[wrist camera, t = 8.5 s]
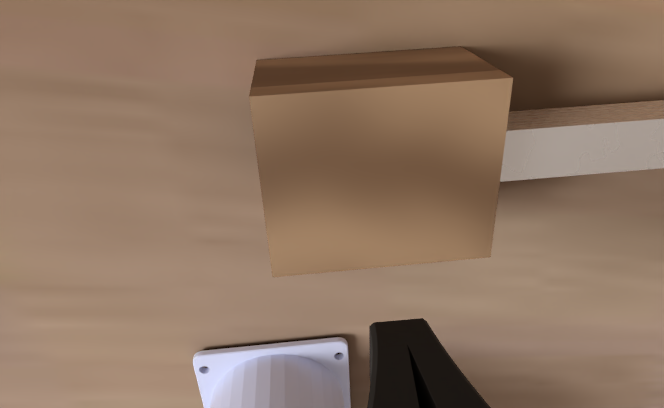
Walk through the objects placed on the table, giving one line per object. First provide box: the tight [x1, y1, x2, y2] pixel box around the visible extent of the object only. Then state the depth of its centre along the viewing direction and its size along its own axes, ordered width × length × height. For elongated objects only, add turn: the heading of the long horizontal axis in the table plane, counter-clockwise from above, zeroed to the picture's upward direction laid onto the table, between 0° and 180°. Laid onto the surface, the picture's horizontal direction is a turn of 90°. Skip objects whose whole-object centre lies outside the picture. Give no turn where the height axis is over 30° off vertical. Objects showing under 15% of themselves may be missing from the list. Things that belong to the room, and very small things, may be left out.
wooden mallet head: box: [249, 46, 513, 277], centre depth 19 cm, size 7×8×5 cm
